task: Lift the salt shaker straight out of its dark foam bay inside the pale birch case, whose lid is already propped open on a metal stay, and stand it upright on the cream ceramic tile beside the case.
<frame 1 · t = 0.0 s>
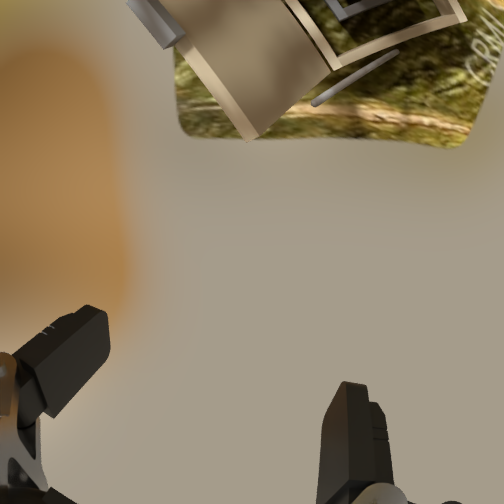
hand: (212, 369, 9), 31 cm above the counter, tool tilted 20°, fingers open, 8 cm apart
lid: (230, 4, 16), point 13 cm above the counter, hinge at 105.0°
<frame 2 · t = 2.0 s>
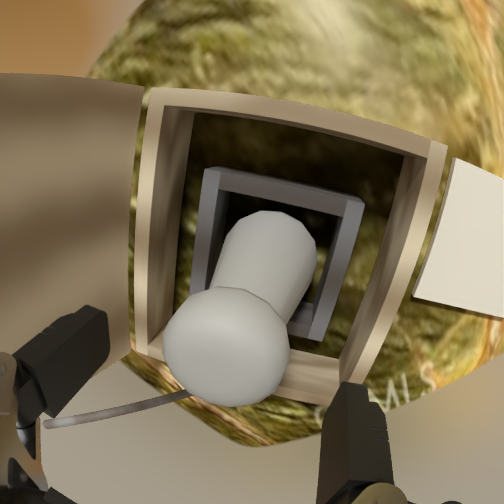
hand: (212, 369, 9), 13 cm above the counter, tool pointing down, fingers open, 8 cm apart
tile: (487, 245, 17), on the counter
lid: (0, 277, 10), point 13 cm above the counter, hinge at 105.0°
case: (274, 245, 21), on the counter
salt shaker: (275, 244, 21), resting in case
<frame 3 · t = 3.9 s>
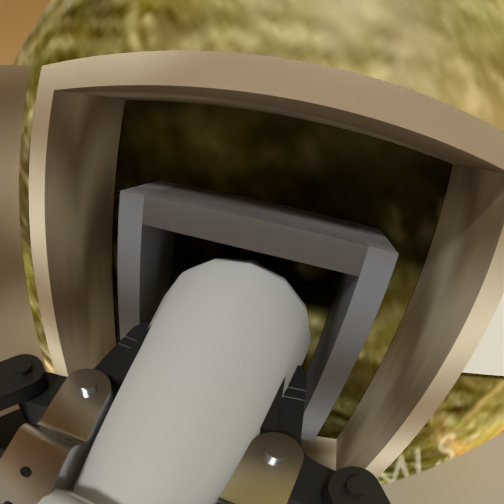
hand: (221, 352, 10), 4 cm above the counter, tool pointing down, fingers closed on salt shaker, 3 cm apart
case: (246, 303, 13), on the counter
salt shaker: (247, 301, 14), resting in case, touching gripper
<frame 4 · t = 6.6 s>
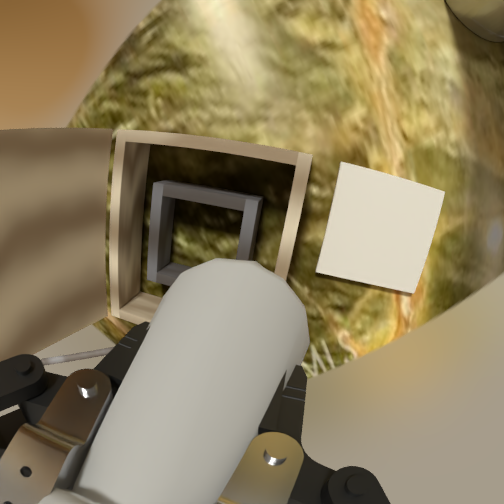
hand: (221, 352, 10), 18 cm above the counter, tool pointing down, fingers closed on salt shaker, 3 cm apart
tile: (381, 230, 26), on the counter
lid: (22, 251, 18), point 13 cm above the counter, hinge at 105.0°
case: (207, 235, 29), on the counter
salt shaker: (246, 301, 14), point 15 cm above the counter, touching gripper
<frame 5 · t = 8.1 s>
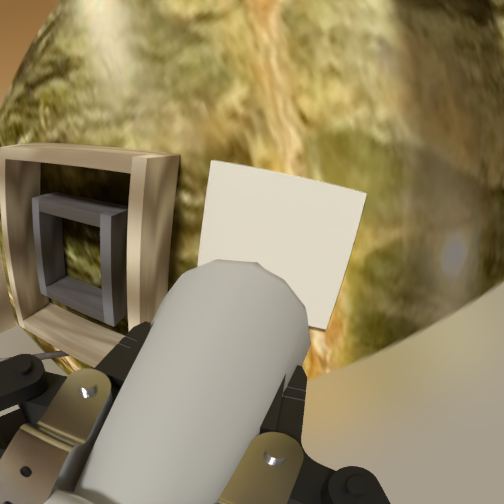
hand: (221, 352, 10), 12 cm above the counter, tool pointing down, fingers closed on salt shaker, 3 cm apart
tile: (274, 247, 21), on the counter
case: (90, 249, 24), on the counter
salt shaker: (246, 302, 14), point 8 cm above the counter, touching gripper
when the fingers open (5 cm above the counter, at t = 9.3 s): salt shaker stays where it is, resting on tile.
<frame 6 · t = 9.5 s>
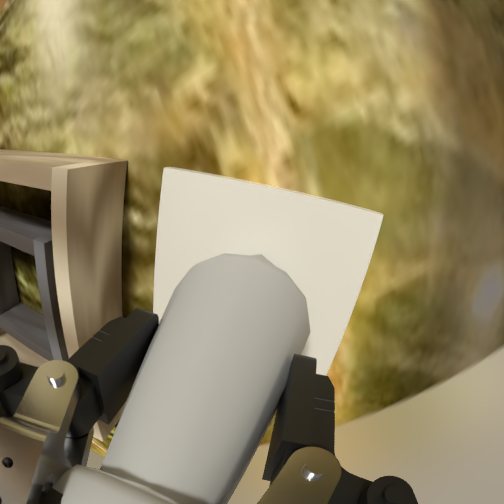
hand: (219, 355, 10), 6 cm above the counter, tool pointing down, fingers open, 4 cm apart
tile: (252, 286, 15), on the counter
case: (38, 275, 18), on the counter
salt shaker: (251, 291, 15), point 1 cm above the counter, touching tile
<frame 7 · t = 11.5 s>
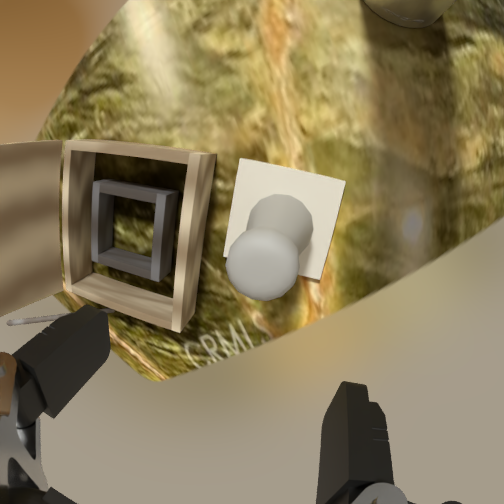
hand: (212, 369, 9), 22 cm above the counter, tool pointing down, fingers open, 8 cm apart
tile: (282, 218, 30), on the counter
case: (138, 224, 33), on the counter
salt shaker: (282, 220, 29), resting on tile
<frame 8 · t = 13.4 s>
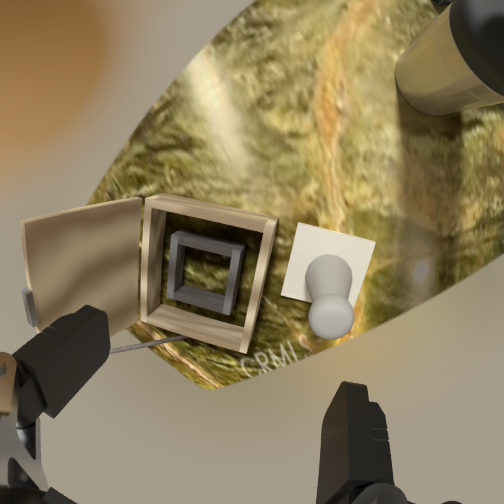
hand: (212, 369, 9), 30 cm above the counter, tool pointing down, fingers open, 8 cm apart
tile: (327, 268, 39), on the counter
lid: (86, 283, 32), point 13 cm above the counter, hinge at 105.0°
case: (208, 267, 42), on the counter
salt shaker: (328, 269, 38), resting on tile
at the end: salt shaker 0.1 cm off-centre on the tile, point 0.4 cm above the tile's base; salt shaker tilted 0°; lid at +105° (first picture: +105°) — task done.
